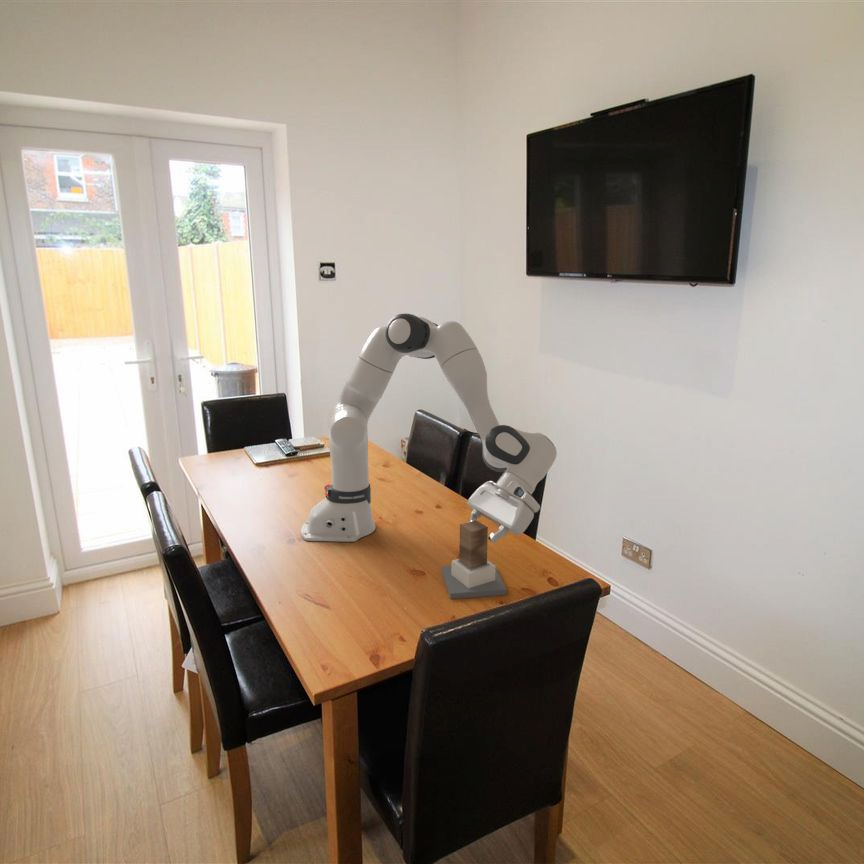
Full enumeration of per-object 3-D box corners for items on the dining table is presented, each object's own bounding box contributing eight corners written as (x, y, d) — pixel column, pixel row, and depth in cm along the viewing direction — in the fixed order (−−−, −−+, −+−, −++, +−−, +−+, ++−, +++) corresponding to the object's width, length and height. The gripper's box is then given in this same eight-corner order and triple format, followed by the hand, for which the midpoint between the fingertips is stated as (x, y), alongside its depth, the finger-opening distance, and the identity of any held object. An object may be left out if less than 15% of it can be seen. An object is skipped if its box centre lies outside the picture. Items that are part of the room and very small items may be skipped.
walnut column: (470, 568, 152) (471, 531, 149) (459, 560, 156) (459, 524, 154) (486, 564, 155) (487, 527, 152) (475, 556, 159) (476, 520, 156)
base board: (450, 599, 149) (450, 577, 148) (441, 571, 163) (441, 551, 161) (506, 594, 151) (507, 573, 150) (493, 568, 164) (493, 548, 163)
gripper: (481, 472, 163) (450, 513, 161) (531, 496, 147) (497, 543, 144) (494, 485, 167) (464, 526, 165) (545, 510, 150) (511, 556, 148)
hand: (480, 534), depth 154 cm, fingers open, 8 cm apart
